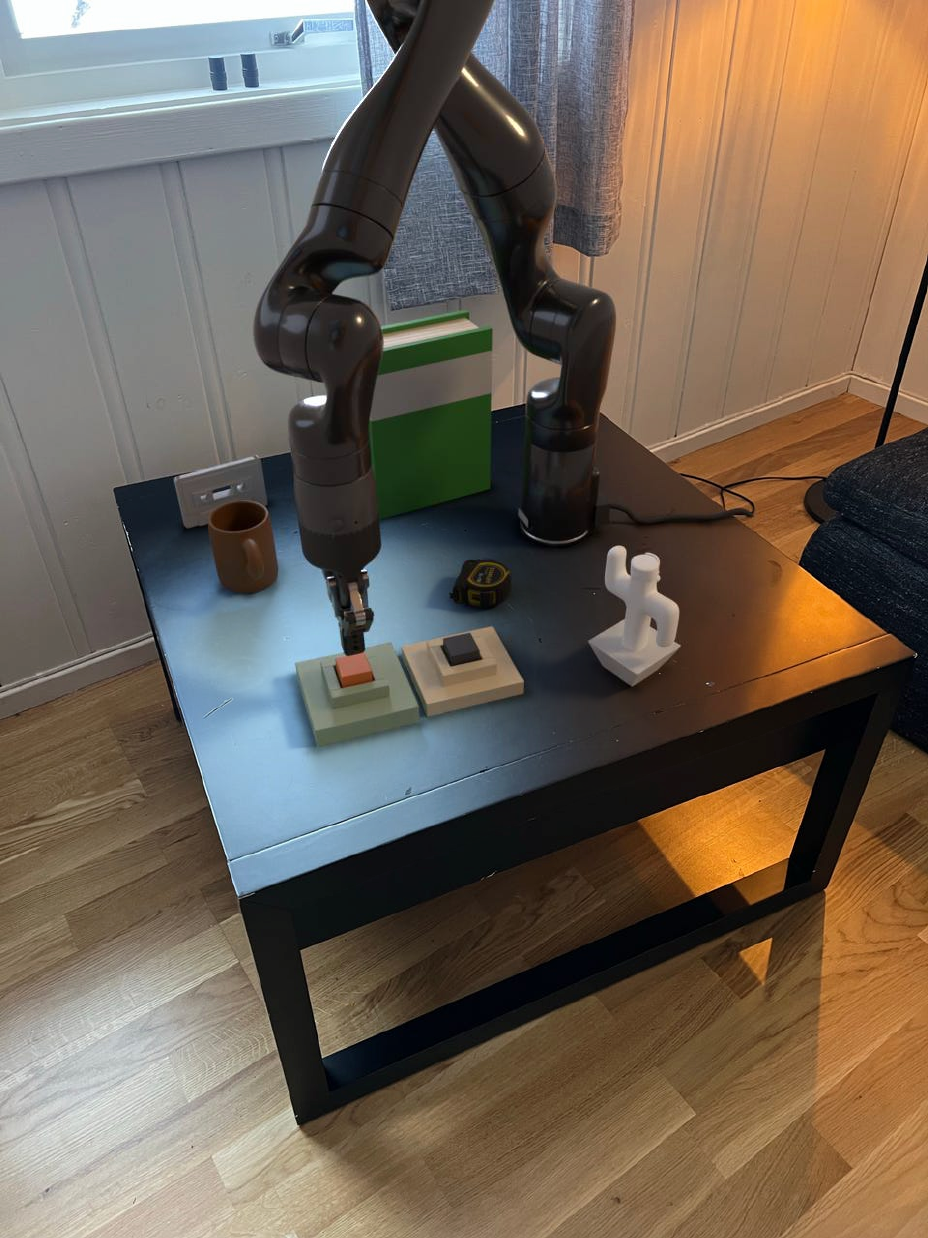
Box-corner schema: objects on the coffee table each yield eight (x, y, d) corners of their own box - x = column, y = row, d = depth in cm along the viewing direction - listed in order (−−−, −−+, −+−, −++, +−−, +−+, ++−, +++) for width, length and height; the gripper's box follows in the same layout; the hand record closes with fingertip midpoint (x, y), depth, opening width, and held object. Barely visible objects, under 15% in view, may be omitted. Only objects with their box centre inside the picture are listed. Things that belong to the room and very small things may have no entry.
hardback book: (466, 466, 141) (466, 309, 126) (490, 488, 136) (492, 328, 120) (358, 494, 134) (343, 333, 119) (378, 519, 129) (366, 354, 114)
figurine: (641, 705, 101) (659, 595, 91) (578, 661, 106) (588, 553, 97) (684, 675, 104) (705, 566, 95) (620, 634, 110) (635, 527, 100)
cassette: (264, 500, 133) (257, 453, 128) (269, 506, 132) (262, 458, 127) (182, 524, 128) (171, 475, 124) (186, 530, 127) (175, 482, 122)
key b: (365, 662, 101) (364, 651, 100) (372, 681, 98) (371, 670, 97) (336, 669, 100) (334, 658, 99) (343, 688, 98) (341, 677, 97)
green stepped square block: (392, 657, 107) (390, 630, 104) (419, 722, 99) (418, 695, 96) (297, 678, 104) (293, 651, 102) (317, 747, 96) (313, 719, 93)
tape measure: (464, 576, 119) (464, 552, 117) (516, 585, 117) (517, 561, 115) (449, 608, 114) (448, 584, 111) (503, 618, 112) (504, 593, 110)
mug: (296, 607, 114) (287, 543, 108) (234, 623, 112) (221, 559, 106) (270, 555, 123) (260, 493, 117) (213, 569, 120) (200, 507, 114)
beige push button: (492, 638, 109) (492, 615, 107) (523, 694, 102) (524, 670, 100) (401, 658, 107) (400, 635, 104) (427, 717, 99) (426, 693, 97)
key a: (470, 642, 104) (470, 632, 103) (479, 660, 102) (479, 650, 101) (442, 648, 103) (442, 638, 102) (451, 667, 101) (451, 656, 100)
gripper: (396, 539, 82) (406, 683, 93) (360, 467, 92) (372, 605, 103) (312, 556, 80) (332, 700, 91) (284, 481, 90) (305, 619, 101)
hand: (353, 649), depth 97 cm, fingers closed
